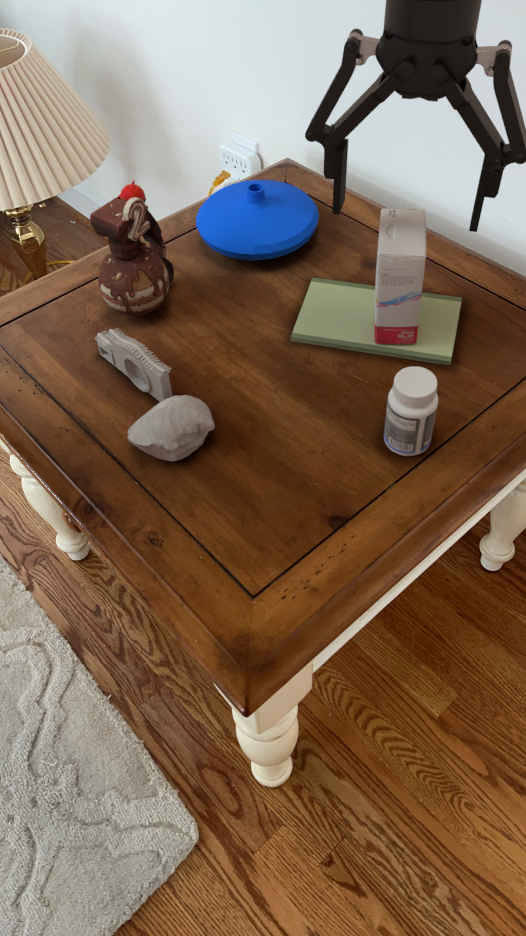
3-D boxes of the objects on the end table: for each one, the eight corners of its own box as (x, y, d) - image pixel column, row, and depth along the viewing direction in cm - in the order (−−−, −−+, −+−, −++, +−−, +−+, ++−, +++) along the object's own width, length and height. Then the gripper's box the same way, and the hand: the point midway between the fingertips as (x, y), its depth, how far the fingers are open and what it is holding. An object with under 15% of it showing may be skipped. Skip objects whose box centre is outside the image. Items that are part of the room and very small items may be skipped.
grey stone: (181, 482, 73) (174, 450, 69) (117, 450, 76) (107, 418, 72) (230, 425, 78) (226, 391, 74) (167, 397, 80) (160, 363, 77)
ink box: (416, 347, 83) (430, 258, 73) (370, 345, 83) (378, 256, 74) (415, 296, 88) (428, 207, 79) (372, 294, 88) (380, 205, 79)
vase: (174, 237, 98) (166, 188, 93) (262, 188, 104) (259, 140, 99) (253, 291, 91) (250, 241, 85) (343, 235, 97) (346, 186, 91)
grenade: (140, 272, 94) (116, 160, 82) (193, 292, 91) (176, 179, 79) (92, 316, 89) (59, 204, 77) (146, 338, 86) (120, 225, 75)
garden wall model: (98, 356, 85) (86, 316, 80) (111, 348, 86) (100, 308, 81) (166, 410, 79) (157, 370, 75) (178, 401, 80) (170, 361, 75)
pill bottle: (416, 416, 77) (426, 357, 71) (439, 448, 74) (451, 390, 68) (374, 430, 76) (381, 371, 70) (396, 463, 73) (405, 405, 67)
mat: (290, 341, 85) (290, 337, 84) (312, 281, 91) (312, 277, 91) (450, 365, 81) (451, 361, 81) (461, 301, 88) (462, 297, 87)
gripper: (604, -34, 58) (535, 209, 75) (293, -52, 63) (293, 180, 79) (605, 4, 53) (531, 254, 70) (269, -18, 58) (275, 220, 75)
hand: (405, 215), depth 75 cm, fingers open, 13 cm apart
